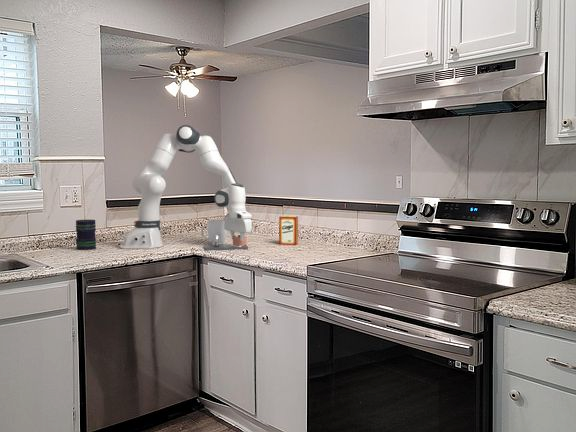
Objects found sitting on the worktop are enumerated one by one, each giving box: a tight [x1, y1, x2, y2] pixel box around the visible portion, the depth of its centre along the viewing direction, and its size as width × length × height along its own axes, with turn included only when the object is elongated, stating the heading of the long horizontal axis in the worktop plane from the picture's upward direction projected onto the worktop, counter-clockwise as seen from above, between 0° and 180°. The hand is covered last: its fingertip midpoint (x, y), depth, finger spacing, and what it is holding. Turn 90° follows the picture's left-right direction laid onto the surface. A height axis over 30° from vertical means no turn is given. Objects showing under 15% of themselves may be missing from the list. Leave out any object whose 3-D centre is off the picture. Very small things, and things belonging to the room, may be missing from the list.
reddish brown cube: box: [232, 234, 248, 246], centre depth 301 cm, size 5×5×5 cm
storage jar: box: [75, 219, 97, 251], centre depth 295 cm, size 10×10×15 cm
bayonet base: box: [204, 235, 249, 251], centre depth 299 cm, size 22×12×7 cm, turn 102°
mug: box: [200, 219, 228, 245], centre depth 316 cm, size 15×11×13 cm
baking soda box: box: [278, 214, 299, 246], centre depth 315 cm, size 10×6×16 cm
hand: (237, 240), depth 300 cm, fingers closed on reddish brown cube, 5 cm apart
